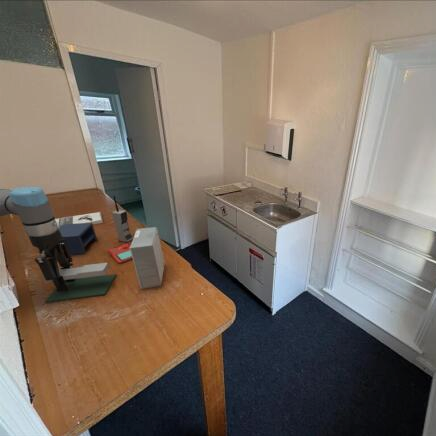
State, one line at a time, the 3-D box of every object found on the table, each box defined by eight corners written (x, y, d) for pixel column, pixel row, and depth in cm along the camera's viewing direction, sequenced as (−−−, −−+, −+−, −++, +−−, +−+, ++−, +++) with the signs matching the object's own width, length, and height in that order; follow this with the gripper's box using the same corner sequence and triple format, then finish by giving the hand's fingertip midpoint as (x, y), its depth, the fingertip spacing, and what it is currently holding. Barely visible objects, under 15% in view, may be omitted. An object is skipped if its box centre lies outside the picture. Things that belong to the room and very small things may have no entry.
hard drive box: (145, 267, 105) (137, 228, 97) (164, 264, 108) (157, 226, 99) (140, 290, 92) (129, 247, 84) (161, 286, 95) (153, 244, 86)
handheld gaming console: (128, 242, 120) (140, 254, 111) (128, 244, 120) (141, 256, 112) (107, 249, 113) (118, 262, 105) (107, 251, 113) (119, 264, 105)
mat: (45, 303, 83) (45, 301, 83) (64, 281, 93) (63, 279, 93) (105, 295, 88) (104, 293, 88) (116, 275, 99) (116, 273, 98)
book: (49, 232, 125) (48, 229, 124) (51, 222, 135) (50, 219, 134) (103, 222, 139) (102, 219, 138) (101, 214, 148) (100, 211, 148)
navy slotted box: (53, 256, 107) (45, 238, 103) (69, 241, 119) (62, 224, 115) (84, 254, 110) (78, 235, 106) (97, 239, 122) (92, 222, 118)
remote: (45, 282, 83) (43, 277, 82) (53, 273, 88) (51, 268, 87) (104, 275, 89) (103, 270, 88) (109, 267, 93) (108, 262, 92)
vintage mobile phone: (127, 242, 122) (116, 197, 111) (119, 241, 122) (107, 196, 112) (133, 239, 125) (122, 195, 115) (125, 237, 126) (113, 194, 115)
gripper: (41, 244, 72) (66, 301, 82) (71, 220, 87) (89, 270, 97) (10, 247, 70) (39, 304, 80) (46, 221, 85) (67, 272, 95)
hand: (66, 285), depth 88 cm, fingers closed on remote, 5 cm apart
